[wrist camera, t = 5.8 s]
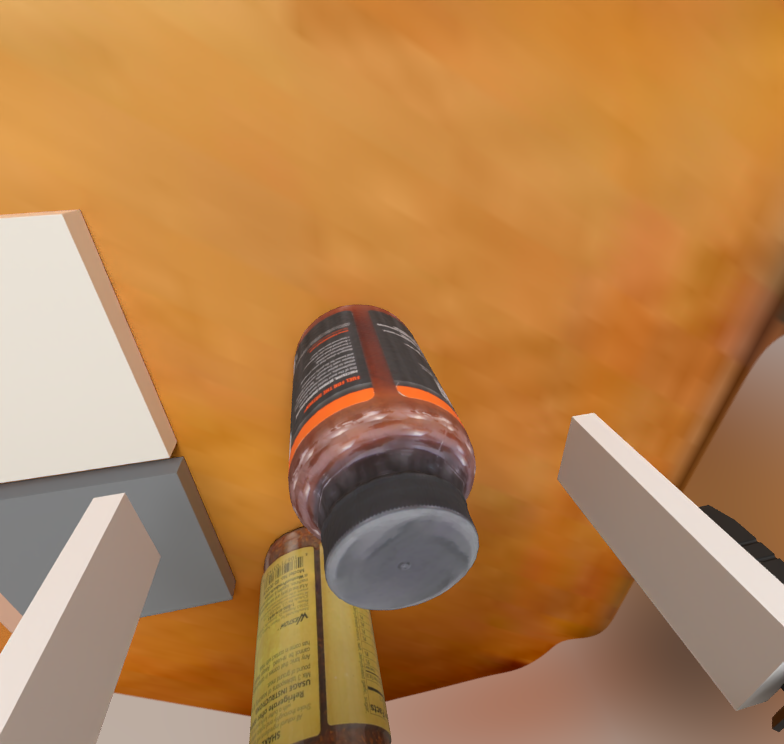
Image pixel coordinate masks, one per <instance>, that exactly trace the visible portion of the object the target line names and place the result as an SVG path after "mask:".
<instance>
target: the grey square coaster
mask: <svg viewBox="0 0 784 744" xmlns="http://www.w3.org/2000/svg"><path fill="white" fill-rule="evenodd" d="M120 493H125V494H126V495H127V497H128V499H129V501H130V503H131V504H132V506H133V508H134V510H135V512H136V513H137V515H138V517H139V519H140V520H141V522H142V524H143V526H144V528H145V529H146V531H147V533H148V535H149V537H150V538H151V540H152V542H153V544H154V545H155V547H156V549H157V551H158V553H159V554H160V556H161V557H160V560H159V563H158V566H157V569H156V572H155V575H154V578H153V580H152V583H151V586H150V589H149V592H148V595H147V598H146V601H145V603H144V606H143V609H142V612H141V615H140V618H141V617H146V616H151V615H156V614H161V613H166V612H171V611H176V610H181V609H186V608H191V607H196V606H201V605H206V604H211V603H216V602H221V601H226V600H231V599H233V594H234V589H235V583H236V581H235V578H234V576H233V574H232V571H231V569H230V566H229V564H228V562H227V559H226V557H225V555H224V552H223V550H222V547H221V545H220V543H219V540H218V538H217V535H216V533H215V531H214V528H213V526H212V524H211V521H210V519H209V516H208V514H207V512H206V509H205V507H204V505H203V502H202V500H201V497H200V495H199V493H198V490H197V488H196V485H195V483H194V481H193V478H192V476H191V474H190V471H189V469H188V466H187V464H186V462H185V459H184V457H177V458H170V459H164V460H157V461H150V462H144V463H137V464H130V465H124V466H117V467H110V468H104V469H97V470H90V471H84V472H77V473H70V474H63V475H57V476H50V477H43V478H37V479H30V480H23V481H17V482H10V483H3V484H0V622H1V623H2V624H3V625H4V626H5V627H6V628H7V629H8V630H9V631H10V632H11V633H12V634H13V632H14V630H15V629H16V627H17V625H18V624H19V622H20V620H21V619H22V617H23V615H24V614H25V612H26V610H27V609H28V607H29V605H30V604H31V602H32V600H33V599H34V597H35V595H36V594H37V592H38V590H39V589H40V587H41V585H42V584H43V582H44V580H45V579H46V577H47V575H48V574H49V572H50V570H51V568H52V567H53V565H54V563H55V562H56V560H57V558H58V557H59V555H60V553H61V552H62V550H63V548H64V547H65V545H66V543H67V542H68V540H69V538H70V537H71V535H72V533H73V532H74V530H75V528H76V527H77V525H78V523H79V522H80V520H81V518H82V517H83V515H84V513H85V512H86V510H87V508H88V507H89V505H90V503H91V502H92V500H93V498H97V497H103V496H108V495H114V494H120Z"/></svg>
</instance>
